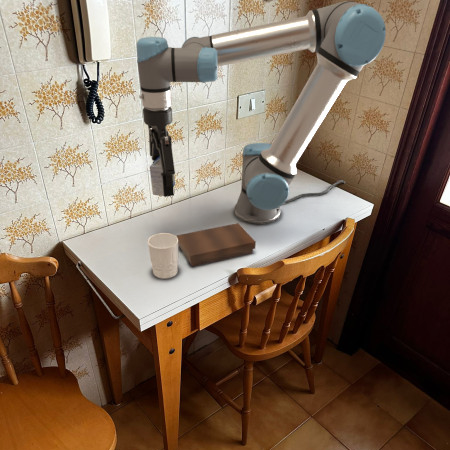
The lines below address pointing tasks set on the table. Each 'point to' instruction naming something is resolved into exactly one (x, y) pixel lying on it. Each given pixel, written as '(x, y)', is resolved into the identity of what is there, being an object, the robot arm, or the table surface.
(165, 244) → the white cup
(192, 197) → the table surface
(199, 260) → the board
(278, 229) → the table surface
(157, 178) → the medicine box
